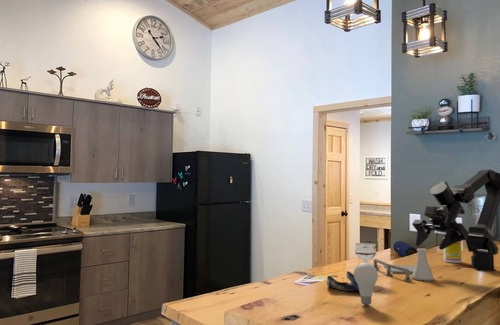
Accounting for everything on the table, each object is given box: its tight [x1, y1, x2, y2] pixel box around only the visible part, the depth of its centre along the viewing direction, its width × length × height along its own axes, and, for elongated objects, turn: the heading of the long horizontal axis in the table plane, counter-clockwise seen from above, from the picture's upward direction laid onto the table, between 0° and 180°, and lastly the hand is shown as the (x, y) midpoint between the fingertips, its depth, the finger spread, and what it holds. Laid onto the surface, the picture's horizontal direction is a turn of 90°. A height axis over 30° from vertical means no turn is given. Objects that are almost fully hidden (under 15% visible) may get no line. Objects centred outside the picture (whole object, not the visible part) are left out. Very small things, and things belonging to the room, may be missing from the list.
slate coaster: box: [383, 264, 415, 275], centre depth 146 cm, size 11×11×1 cm
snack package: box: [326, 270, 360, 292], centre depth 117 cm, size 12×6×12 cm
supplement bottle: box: [442, 237, 463, 264], centre depth 164 cm, size 7×7×13 cm
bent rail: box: [373, 258, 413, 283], centre depth 138 cm, size 4×22×4 cm, turn 14°
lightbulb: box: [353, 261, 379, 307], centre depth 102 cm, size 6×6×11 cm
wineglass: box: [354, 242, 377, 263], centre depth 129 cm, size 7×7×12 cm
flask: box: [410, 248, 435, 282], centre depth 132 cm, size 7×7×10 cm
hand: (428, 247), depth 134 cm, fingers open, 9 cm apart
